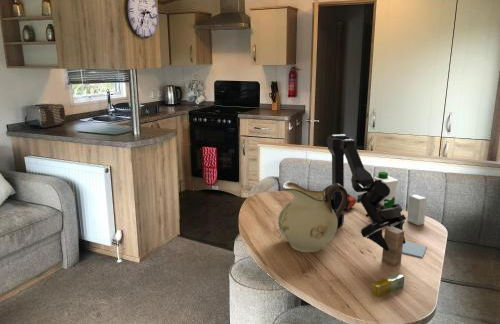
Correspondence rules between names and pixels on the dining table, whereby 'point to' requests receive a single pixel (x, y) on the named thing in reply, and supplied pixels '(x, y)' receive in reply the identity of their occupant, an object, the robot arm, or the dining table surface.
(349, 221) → the dining table surface
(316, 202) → the pitcher
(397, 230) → the wooden block
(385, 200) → the milk carton
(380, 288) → the medication box
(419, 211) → the skincare box
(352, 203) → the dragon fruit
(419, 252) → the slate-blue rubber mat
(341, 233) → the dining table surface
